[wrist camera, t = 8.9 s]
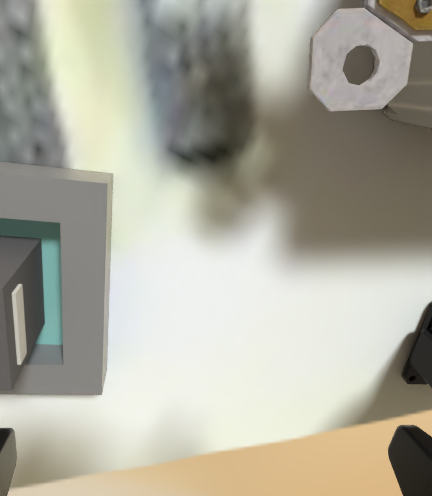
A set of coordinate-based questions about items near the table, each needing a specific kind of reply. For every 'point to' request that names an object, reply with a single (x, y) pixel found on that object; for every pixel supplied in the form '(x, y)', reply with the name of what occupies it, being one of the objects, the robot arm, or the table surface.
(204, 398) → the table surface
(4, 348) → the block
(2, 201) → the socket
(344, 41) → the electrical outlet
